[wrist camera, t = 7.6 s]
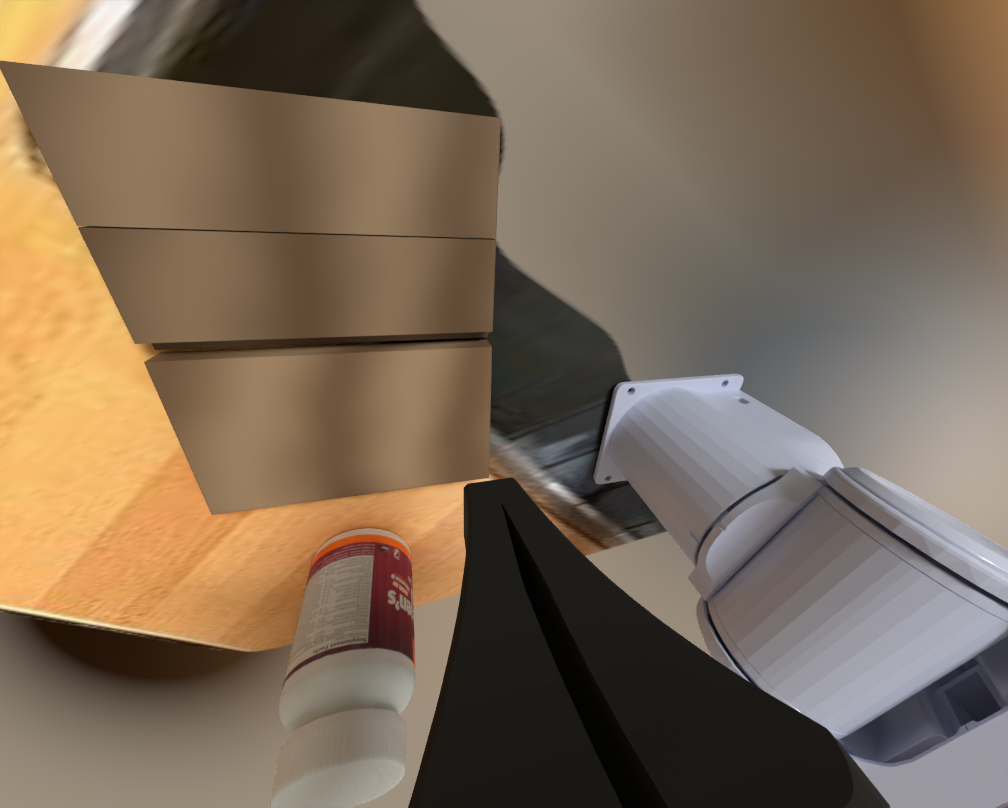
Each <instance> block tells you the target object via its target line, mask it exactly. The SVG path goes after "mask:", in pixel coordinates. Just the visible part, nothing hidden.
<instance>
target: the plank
mask: <svg viewBox="0 0 1008 808" xmlns="http://www.w3.org/2000/svg"><path fill="white" fill-rule="evenodd" d="M491 361H492V346H491V345H490V344H489V342H488V341H487V340H464V341H438V342H413V343H387V344H361V345H335V346H310V347H284V348H258V349H232V350H207V351H181V352H161V353H159V354H157V355H156V356H154V357H152V358H151V359H149V360H147V361H145V362H144V363H145V365H146V368H147V370H148V372H149V374H150V377H151V379H152V381H153V383H154V386H155V388H156V390H157V392H158V395H159V397H160V399H161V401H162V404H163V406H164V408H165V410H166V413H167V415H168V417H169V420H170V422H171V424H172V426H173V429H174V431H175V433H176V435H177V438H178V440H179V442H180V444H181V447H182V449H183V451H184V453H185V456H186V458H187V460H188V462H189V465H190V467H191V469H192V471H193V474H194V476H195V478H196V480H197V483H198V485H199V487H200V489H201V492H202V494H203V496H204V498H205V501H206V503H207V505H208V507H209V510H210V512H211V514H212V515H214V514H221V513H229V512H236V511H244V510H251V509H259V508H266V507H274V506H281V505H288V504H296V503H303V502H311V501H318V500H326V499H333V498H341V497H348V496H356V495H363V494H371V493H378V492H386V491H393V490H400V489H408V488H415V487H423V486H430V485H438V484H445V483H453V482H460V481H468V480H475V479H483V478H489V443H490V402H491Z"/></svg>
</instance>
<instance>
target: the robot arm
mask: <svg viewBox="0 0 1008 808" xmlns="http://www.w3.org/2000/svg"><path fill="white" fill-rule="evenodd" d="M742 383H743V377H742V376H741V375H739V374H726V375H713V376H699V377H686V378H673V379H659V380H646V381H633V382H622V383H619V384H618V385H617V386H616V387H615V388H614V391H613V396H612V400H611V404H610V408H609V413H608V417H607V421H606V426H605V430H604V434H603V438H602V443H601V447H600V451H599V455H598V460H597V464H596V468H595V472H594V477H593V479H594V481H595V482H596V483H597V484H606V483H612V482H619V481H626V480H627V481H628V482H629V483H630V484H631V486H632V487H633V488H634V489H635V491H636V492H637V493H638V494H639V496H640V497H641V498H642V500H643V501H644V502H645V503H646V505H647V506H648V507H649V508H650V510H651V511H652V512H653V513H654V515H655V516H656V517H657V519H658V520H659V521H660V522H661V524H662V525H663V526H664V527H665V529H666V530H667V531H668V532H669V534H670V535H671V536H672V537H673V539H674V540H675V541H676V542H677V544H678V545H679V546H680V548H681V549H682V550H683V551H684V553H685V554H686V555H687V556H688V558H689V559H690V560H691V561H692V563H693V564H694V565H695V569H694V571H693V572H692V573H691V574H690V576H689V580H690V581H691V583H692V584H693V585H694V587H695V588H696V589H697V591H698V592H699V593H700V595H701V596H702V597H701V598H700V599H699V601H698V603H697V607H696V612H697V619H698V624H699V627H700V630H701V632H702V635H703V638H704V641H705V643H706V646H707V648H708V650H709V652H710V654H711V656H712V657H710V656H709V655H708V654H706V653H705V652H704V651H702V650H701V649H699V648H698V647H697V646H695V645H694V644H692V643H691V642H690V641H688V640H687V639H685V638H684V637H683V636H681V635H680V634H678V633H677V632H676V631H674V630H673V629H671V628H670V627H669V626H667V625H666V624H664V623H663V622H662V621H660V620H659V619H658V618H656V617H655V616H654V615H652V614H651V613H650V612H649V611H648V610H646V609H645V608H644V607H642V606H641V605H640V604H639V603H637V602H636V601H635V600H633V599H632V598H631V597H630V596H629V595H628V594H627V593H625V592H624V591H623V590H622V589H621V588H619V587H618V586H617V585H616V584H615V583H614V582H612V581H611V580H610V579H609V578H608V577H607V576H606V575H604V574H603V573H602V572H601V571H600V570H599V569H598V568H597V567H596V566H595V565H593V563H592V562H590V561H589V560H588V559H587V558H586V557H585V556H584V555H583V554H582V553H581V552H580V551H579V550H578V549H577V548H576V547H575V546H574V545H573V544H572V543H571V542H570V541H569V540H568V539H567V538H566V537H565V536H564V535H563V534H562V533H561V531H560V530H559V529H558V528H557V527H556V526H555V525H554V524H553V523H552V522H551V521H550V520H549V519H548V518H547V516H546V515H545V514H544V513H543V512H542V511H541V510H540V508H539V507H538V506H537V505H536V504H535V503H534V502H533V500H532V499H531V498H530V497H529V496H528V494H527V493H526V492H525V491H524V490H523V488H522V487H521V486H520V485H519V483H518V482H517V481H516V480H515V479H514V478H506V479H499V480H491V481H484V482H477V483H470V484H467V485H466V486H465V487H464V538H465V546H466V559H465V567H464V574H463V582H462V589H461V596H460V602H459V607H458V613H457V618H456V624H455V628H454V634H453V639H452V643H451V648H450V652H449V657H448V661H447V666H446V670H445V674H444V678H443V683H442V687H441V691H440V695H439V699H438V703H437V707H436V711H435V714H434V718H433V722H432V725H431V729H430V733H429V736H428V740H427V743H426V747H425V751H424V755H423V758H422V762H421V765H420V769H419V773H418V776H417V780H416V783H415V786H414V790H413V793H412V797H411V800H410V803H409V807H408V808H1008V550H1007V549H1005V548H1004V547H1002V546H1001V545H999V544H997V543H996V542H994V541H992V540H991V539H989V538H988V537H986V536H984V535H982V534H981V533H979V532H978V531H976V530H974V529H973V528H971V527H969V526H967V525H966V524H964V523H962V522H961V521H959V520H957V519H955V518H953V517H952V516H950V515H949V514H947V513H945V512H944V511H942V510H940V509H938V508H937V507H935V506H933V505H931V504H930V503H928V502H926V501H924V500H922V499H921V498H919V497H917V496H915V495H913V494H912V493H910V492H908V491H906V490H904V489H903V488H901V487H899V486H897V485H895V484H893V483H892V482H889V481H888V480H886V479H884V478H882V477H880V476H878V475H876V474H874V473H872V472H869V471H868V470H865V469H863V468H860V467H849V468H844V467H843V465H842V463H841V461H840V459H839V458H838V456H837V455H836V454H835V452H834V451H833V450H832V448H831V447H830V446H829V445H828V444H827V443H826V442H825V441H823V440H822V439H821V438H820V437H818V436H817V435H815V434H814V433H812V432H810V431H808V430H807V429H805V428H803V427H802V426H800V425H798V424H797V423H795V422H793V421H791V420H790V419H788V418H786V417H785V416H783V415H781V414H779V413H778V412H776V411H774V410H773V409H771V408H769V407H768V406H766V405H764V404H762V403H761V402H759V401H757V400H756V399H754V398H752V397H750V396H749V395H747V394H745V393H744V392H742V391H740V387H741V385H742ZM630 388H632V389H631V390H630V391H629V392H628V390H629V389H630Z"/></svg>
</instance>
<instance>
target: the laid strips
mask: <svg viewBox="0 0 1008 808" xmlns="http://www.w3.org/2000/svg"><path fill="white" fill-rule="evenodd" d="M0 69H1V71H2V73H3V75H4V77H5V79H6V81H7V84H8V86H9V88H10V90H11V92H12V94H13V96H14V98H15V100H16V102H17V104H18V106H19V108H20V110H21V112H22V114H23V116H24V118H25V120H26V122H27V124H28V126H29V128H30V130H31V133H32V135H33V137H34V139H35V141H36V143H37V145H38V147H39V149H40V151H41V153H42V155H43V157H44V159H45V161H46V163H47V165H48V167H49V169H50V171H51V173H52V175H53V177H54V179H55V182H56V184H57V186H58V188H59V190H60V192H61V194H62V196H63V198H64V200H65V202H66V204H67V206H68V208H69V210H70V212H71V214H72V216H73V218H74V220H75V222H76V224H77V226H85V227H78V228H79V230H80V233H81V235H82V237H83V239H84V241H85V243H86V245H87V247H88V249H89V251H90V253H91V255H92V257H93V259H94V261H95V263H96V265H97V267H98V269H99V271H100V273H101V275H102V277H103V279H104V282H105V284H106V286H107V288H108V290H109V292H110V294H111V296H112V298H113V300H114V302H115V304H116V306H117V308H118V310H119V312H120V314H121V316H122V318H123V320H124V322H125V324H126V326H127V328H128V330H129V333H130V335H131V337H132V339H133V341H134V343H135V344H142V343H152V344H153V346H154V349H155V350H160V349H187V348H214V347H241V346H268V345H295V344H322V343H348V342H375V341H402V340H429V339H456V338H483V337H488V332H492V330H493V304H494V277H495V251H496V240H495V239H496V225H497V198H498V172H499V146H500V120H501V118H496V117H487V116H478V115H469V114H461V113H452V112H443V111H435V110H426V109H417V108H408V107H400V106H391V105H382V104H373V103H365V102H356V101H347V100H339V99H330V98H321V97H312V96H304V95H295V94H286V93H277V92H269V91H260V90H251V89H243V88H234V87H225V86H216V85H208V84H199V83H190V82H182V81H173V80H164V79H155V78H147V77H138V76H129V75H120V74H112V73H103V72H94V71H86V70H77V69H68V68H59V67H51V66H42V65H33V64H25V63H16V62H7V61H0Z"/></svg>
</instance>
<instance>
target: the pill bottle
mask: <svg viewBox="0 0 1008 808" xmlns="http://www.w3.org/2000/svg"><path fill="white" fill-rule="evenodd" d="M414 687H415V646H414V613H413V587H412V562H411V552H410V549H409V547H408V545H407V544H406V542H405V541H404V540H403V539H402V538H401V537H399V536H398V535H397V534H395V533H392V532H390V531H386V530H382V529H375V528H363V529H355V530H350V531H347V532H344V533H341V534H338V535H336V536H334V537H333V538H331V539H329V540H328V541H326V542H325V543H324V544H323V545H322V546H321V547H320V548H319V550H318V551H317V553H316V554H315V556H314V559H313V562H312V565H311V569H310V573H309V577H308V581H307V584H306V589H305V594H304V598H303V602H302V606H301V611H300V615H299V619H298V624H297V628H296V632H295V636H294V641H293V645H292V650H291V654H290V658H289V662H288V666H287V671H286V675H285V680H284V684H283V688H282V693H281V699H280V705H279V712H280V718H281V721H282V724H283V725H284V727H285V728H286V730H287V731H288V732H289V733H291V734H290V735H289V736H288V737H287V738H286V739H285V740H284V742H283V743H282V745H281V747H280V751H279V756H278V761H277V768H276V774H275V778H274V783H273V788H272V794H271V800H270V807H271V808H352V807H355V806H358V805H361V804H363V803H365V802H368V801H370V800H373V799H375V798H377V797H379V796H381V795H382V794H384V793H385V792H387V791H389V790H390V789H392V788H393V787H395V786H396V785H397V784H398V783H399V782H400V780H401V779H402V778H403V775H404V773H405V768H406V767H405V766H406V765H405V764H406V721H405V719H404V718H403V716H401V715H400V713H401V712H402V711H403V710H404V709H405V707H406V706H407V704H408V703H409V701H410V699H411V697H412V694H413V691H414Z"/></svg>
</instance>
